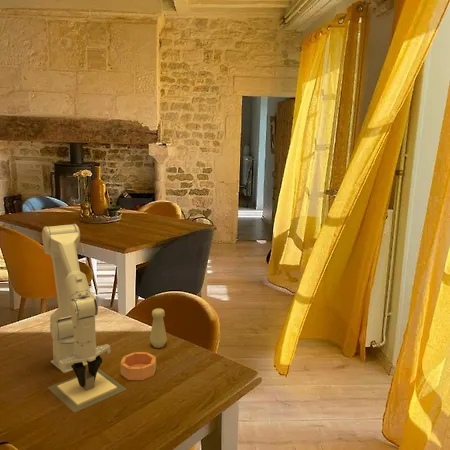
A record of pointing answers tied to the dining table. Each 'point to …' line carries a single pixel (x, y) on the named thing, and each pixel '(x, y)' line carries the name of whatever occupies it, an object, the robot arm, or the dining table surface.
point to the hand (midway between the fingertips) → (86, 383)
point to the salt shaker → (158, 329)
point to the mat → (76, 408)
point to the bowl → (138, 366)
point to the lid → (86, 388)
